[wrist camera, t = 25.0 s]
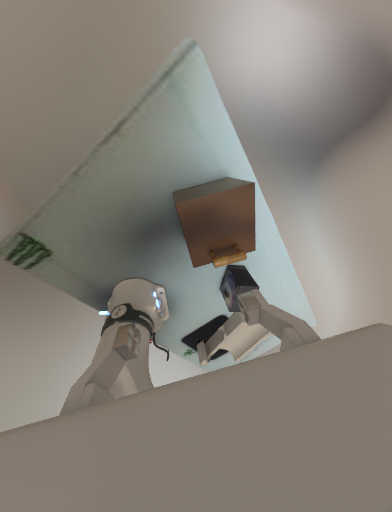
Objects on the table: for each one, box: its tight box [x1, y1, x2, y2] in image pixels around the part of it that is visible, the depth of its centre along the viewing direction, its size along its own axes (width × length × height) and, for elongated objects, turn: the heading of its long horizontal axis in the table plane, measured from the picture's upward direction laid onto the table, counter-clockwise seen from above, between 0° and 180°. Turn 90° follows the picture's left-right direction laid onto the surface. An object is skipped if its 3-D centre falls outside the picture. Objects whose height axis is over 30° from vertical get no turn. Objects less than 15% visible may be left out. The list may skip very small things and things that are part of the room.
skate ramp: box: [197, 312, 274, 367], centre depth 65 cm, size 25×23×10 cm
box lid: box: [175, 182, 255, 268], centre depth 27 cm, size 13×14×5 cm
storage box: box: [173, 177, 251, 203], centre depth 34 cm, size 13×14×12 cm
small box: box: [220, 265, 260, 312], centre depth 48 cm, size 11×6×10 cm, turn 170°
